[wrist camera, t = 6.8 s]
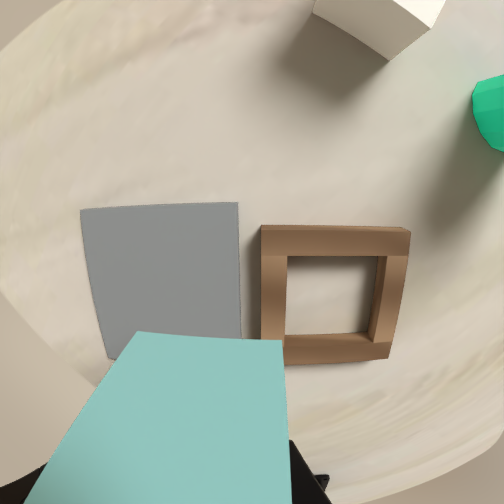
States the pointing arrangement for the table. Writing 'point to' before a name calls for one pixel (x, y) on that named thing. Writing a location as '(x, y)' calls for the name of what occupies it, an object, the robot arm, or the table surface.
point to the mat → (164, 270)
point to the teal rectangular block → (178, 428)
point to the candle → (490, 110)
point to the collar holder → (333, 244)
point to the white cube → (381, 21)
